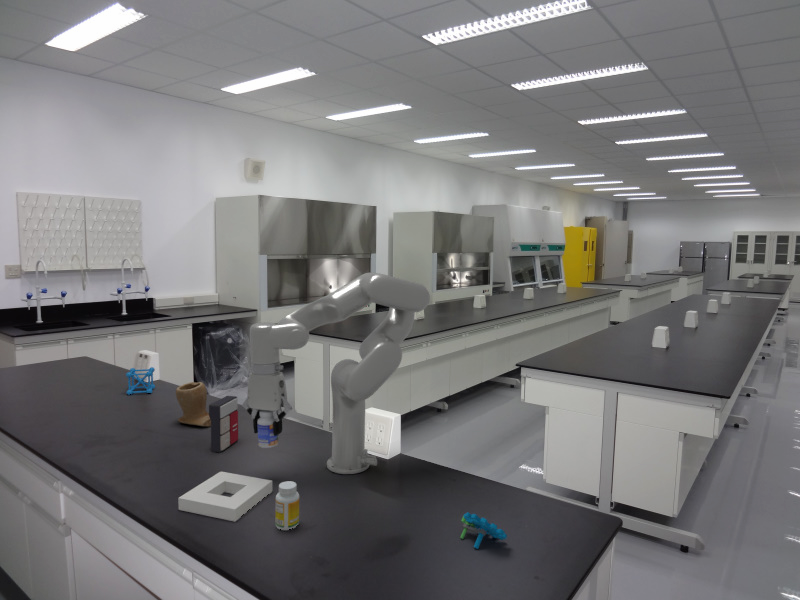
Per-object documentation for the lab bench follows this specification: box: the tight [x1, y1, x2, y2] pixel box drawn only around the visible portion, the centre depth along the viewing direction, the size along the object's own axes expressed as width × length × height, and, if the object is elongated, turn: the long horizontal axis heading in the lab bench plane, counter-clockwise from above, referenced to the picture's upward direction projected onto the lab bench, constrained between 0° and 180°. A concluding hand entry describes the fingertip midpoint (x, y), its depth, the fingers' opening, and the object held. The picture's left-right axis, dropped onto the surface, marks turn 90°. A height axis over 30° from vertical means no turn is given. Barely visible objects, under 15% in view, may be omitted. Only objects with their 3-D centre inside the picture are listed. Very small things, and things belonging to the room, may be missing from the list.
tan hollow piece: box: [175, 381, 211, 427], centre depth 184 cm, size 15×12×15 cm
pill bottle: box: [257, 410, 279, 449], centre depth 141 cm, size 5×5×10 cm
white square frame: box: [177, 471, 273, 523], centre depth 129 cm, size 16×16×3 cm
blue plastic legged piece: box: [459, 511, 508, 550], centre depth 112 cm, size 11×6×10 cm
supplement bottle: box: [274, 480, 300, 531], centre depth 118 cm, size 5×5×10 cm
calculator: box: [208, 395, 239, 453], centre depth 164 cm, size 11×4×15 cm, turn 168°
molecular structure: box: [125, 366, 156, 396], centre depth 223 cm, size 10×10×10 cm
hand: (268, 432), depth 141 cm, fingers closed on pill bottle, 5 cm apart
